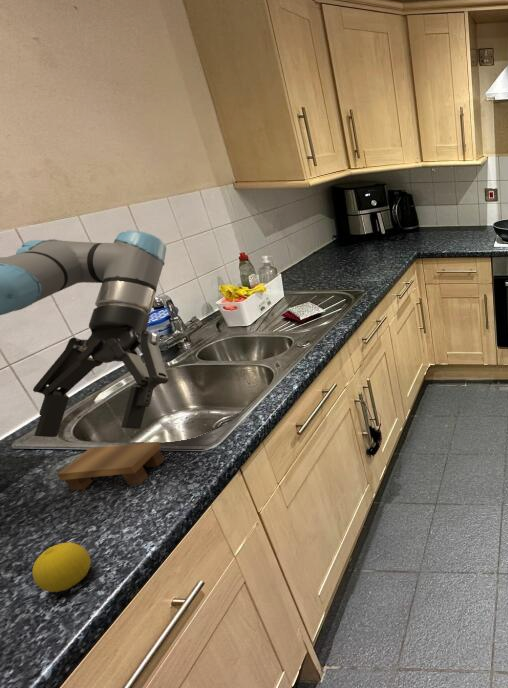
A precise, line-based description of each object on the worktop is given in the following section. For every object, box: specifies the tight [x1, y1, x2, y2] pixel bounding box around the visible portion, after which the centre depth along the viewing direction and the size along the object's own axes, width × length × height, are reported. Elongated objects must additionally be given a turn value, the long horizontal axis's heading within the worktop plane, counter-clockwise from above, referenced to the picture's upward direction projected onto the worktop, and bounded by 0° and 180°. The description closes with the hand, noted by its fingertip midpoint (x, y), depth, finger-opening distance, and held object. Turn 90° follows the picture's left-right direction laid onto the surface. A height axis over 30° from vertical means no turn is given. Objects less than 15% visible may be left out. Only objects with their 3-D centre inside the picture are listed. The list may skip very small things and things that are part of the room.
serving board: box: [56, 441, 166, 491], centre depth 82 cm, size 14×7×5 cm, turn 93°
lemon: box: [32, 542, 92, 593], centre depth 61 cm, size 6×6×8 cm
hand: (88, 432), depth 66 cm, fingers open, 13 cm apart
